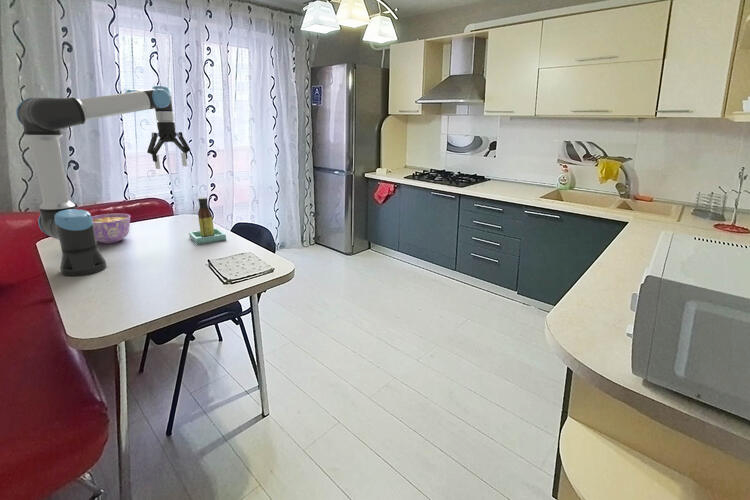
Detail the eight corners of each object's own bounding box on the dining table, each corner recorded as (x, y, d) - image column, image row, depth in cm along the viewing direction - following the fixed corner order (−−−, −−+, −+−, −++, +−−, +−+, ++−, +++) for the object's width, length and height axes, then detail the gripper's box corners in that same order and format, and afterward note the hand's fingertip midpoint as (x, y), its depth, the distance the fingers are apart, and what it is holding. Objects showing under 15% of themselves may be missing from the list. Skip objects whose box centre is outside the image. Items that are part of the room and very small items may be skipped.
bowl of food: (119, 247, 197) (114, 223, 194) (76, 246, 198) (71, 222, 194) (142, 235, 216) (138, 213, 213) (103, 235, 217) (99, 213, 213)
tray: (226, 240, 210) (225, 234, 209) (196, 244, 202) (195, 238, 201) (218, 233, 221) (217, 228, 220) (189, 238, 213) (189, 232, 212)
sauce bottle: (216, 236, 214) (213, 197, 208) (211, 239, 208) (207, 199, 202) (204, 235, 215) (200, 196, 209) (198, 238, 209) (193, 198, 203)
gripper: (185, 121, 210) (190, 164, 217) (134, 121, 191) (141, 169, 197) (194, 121, 206) (199, 165, 213) (143, 121, 187) (150, 170, 193)
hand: (171, 167), depth 205 cm, fingers open, 13 cm apart
